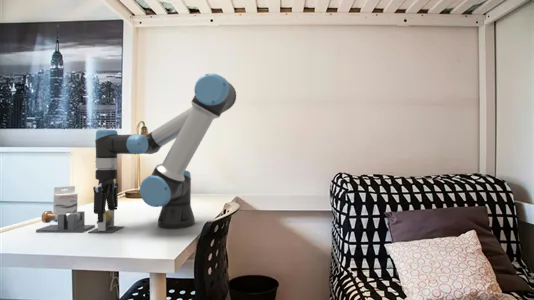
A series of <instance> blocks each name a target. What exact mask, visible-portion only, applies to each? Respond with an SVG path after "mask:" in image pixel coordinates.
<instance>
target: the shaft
mask: <svg viewBox="0 0 534 300" xmlns="http://www.w3.org/2000/svg"><path fill="white" fill-rule="evenodd" d="M58 214H66V221H68V215H69V214H77V221H79V220H80V219H81V214H80V213H54V212H53V211H52V210H45V211H43V212H42V215H41V221H42V223H44V224H50V223H51V222H52V221H54V222H56V221H57V222H58Z"/></svg>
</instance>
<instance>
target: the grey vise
mask: <svg viewBox="0 0 534 300" xmlns="http://www.w3.org/2000/svg"><path fill="white" fill-rule="evenodd" d="M66 213H75V211H69V212H66ZM76 213H80V214H81V219H80V220H79V221H77V214H69V215H68V221H66V214H58V221H57V224H49V225H46V226H43V227H41V228H40V227H39V228H37V229H35V233H55V234H56V233H61V234H63V233H65V234H66V233H67V234H68V233H69V234H71V233H72V234H73V233H76V234H77V233H78V234H79V233H80V234H83V233H85V232H87V231H88V232H89V231H91V230H94V229H96V224H85V220H86V219H85V211H82V210H80V211H77V212H76Z"/></svg>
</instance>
